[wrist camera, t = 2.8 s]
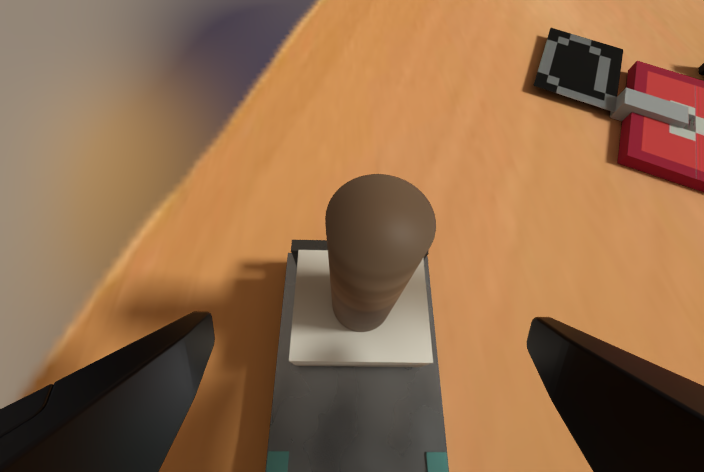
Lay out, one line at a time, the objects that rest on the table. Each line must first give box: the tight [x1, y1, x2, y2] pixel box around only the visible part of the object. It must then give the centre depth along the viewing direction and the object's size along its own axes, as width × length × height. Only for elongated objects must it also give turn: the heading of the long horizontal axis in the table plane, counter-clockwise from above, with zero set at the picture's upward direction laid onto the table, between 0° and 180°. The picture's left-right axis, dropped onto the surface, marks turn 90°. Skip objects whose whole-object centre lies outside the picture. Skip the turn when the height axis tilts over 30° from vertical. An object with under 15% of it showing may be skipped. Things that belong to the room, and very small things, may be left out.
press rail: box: [265, 240, 449, 472], centre depth 14 cm, size 18×8×4 cm, turn 179°
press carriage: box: [289, 174, 436, 367], centre depth 12 cm, size 5×6×10 cm
